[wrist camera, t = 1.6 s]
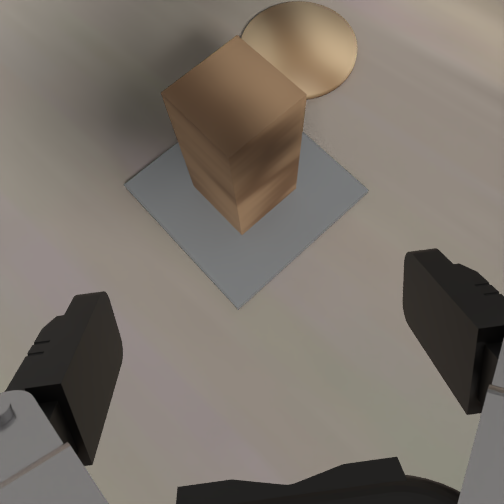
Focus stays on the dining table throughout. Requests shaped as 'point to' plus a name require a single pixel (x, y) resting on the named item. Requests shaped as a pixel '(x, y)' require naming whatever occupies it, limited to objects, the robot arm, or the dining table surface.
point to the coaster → (305, 45)
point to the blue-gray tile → (261, 233)
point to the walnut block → (238, 131)
